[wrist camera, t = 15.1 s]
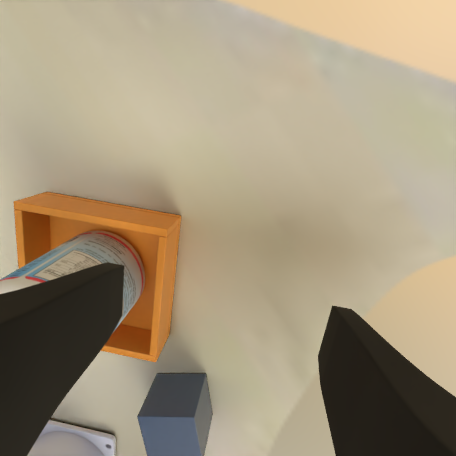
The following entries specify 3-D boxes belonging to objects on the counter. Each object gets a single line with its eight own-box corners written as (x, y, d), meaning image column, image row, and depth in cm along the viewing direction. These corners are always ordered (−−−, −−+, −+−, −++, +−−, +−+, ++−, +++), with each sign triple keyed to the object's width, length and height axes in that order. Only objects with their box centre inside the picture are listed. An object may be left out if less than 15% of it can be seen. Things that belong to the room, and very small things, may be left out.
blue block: (212, 413, 26) (202, 462, 22) (165, 412, 27) (148, 460, 23) (206, 373, 25) (194, 417, 21) (156, 373, 25) (137, 416, 22)
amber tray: (169, 334, 24) (156, 362, 21) (51, 310, 25) (23, 334, 22) (181, 215, 21) (167, 229, 18) (46, 191, 22) (13, 201, 19)
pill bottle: (77, 307, 24) (-79, 452, 13) (58, 229, 22) (-140, 325, 11) (154, 307, 23) (54, 463, 12) (141, 226, 21) (11, 327, 11)
